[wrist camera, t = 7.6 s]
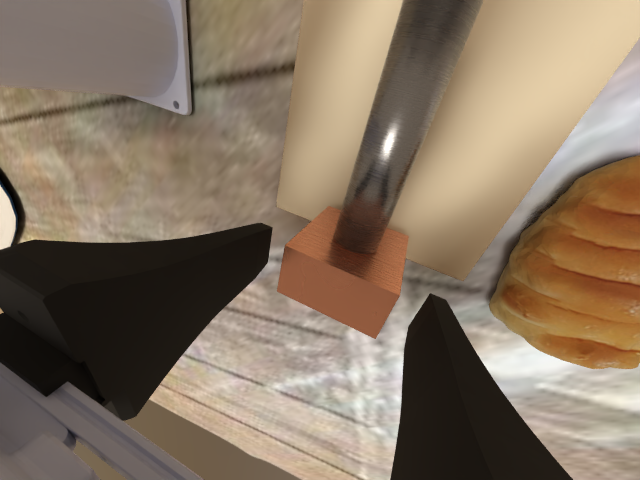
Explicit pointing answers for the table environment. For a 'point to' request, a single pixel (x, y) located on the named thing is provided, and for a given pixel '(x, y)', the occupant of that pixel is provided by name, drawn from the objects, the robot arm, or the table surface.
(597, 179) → the pastry
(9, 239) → the plate
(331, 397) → the table surface
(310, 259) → the bolt
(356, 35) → the latch board
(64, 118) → the table surface
